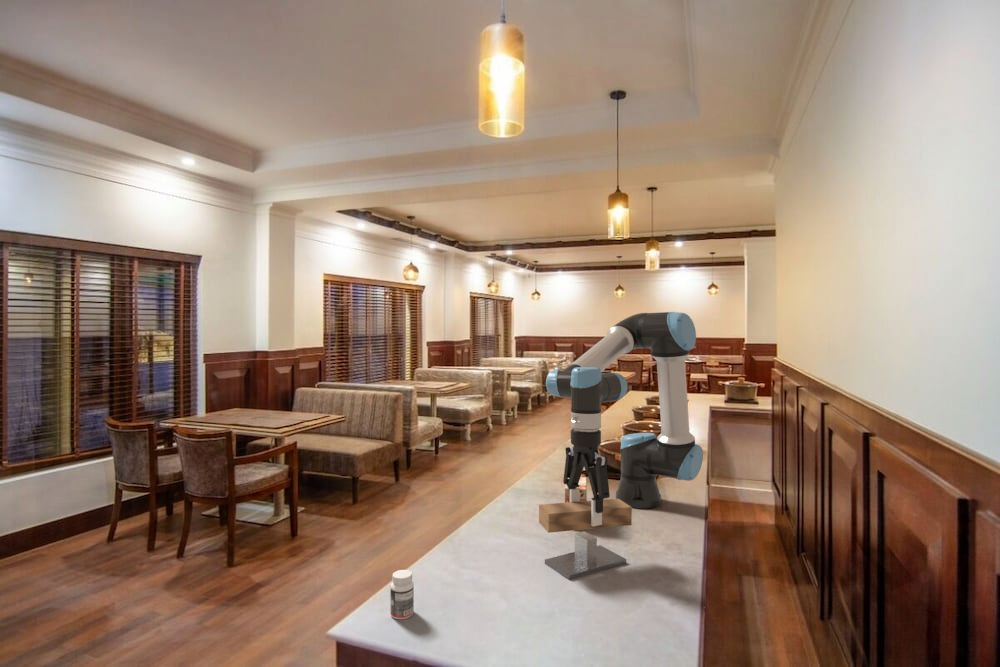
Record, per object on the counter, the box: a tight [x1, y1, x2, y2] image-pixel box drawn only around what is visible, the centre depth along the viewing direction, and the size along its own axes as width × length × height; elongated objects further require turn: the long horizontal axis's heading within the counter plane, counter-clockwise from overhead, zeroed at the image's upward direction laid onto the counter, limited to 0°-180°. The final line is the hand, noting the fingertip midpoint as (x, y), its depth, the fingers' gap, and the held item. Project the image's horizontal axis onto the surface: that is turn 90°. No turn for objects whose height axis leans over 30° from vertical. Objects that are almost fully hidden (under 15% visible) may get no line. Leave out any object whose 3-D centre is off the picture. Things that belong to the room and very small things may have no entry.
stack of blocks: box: [564, 476, 588, 531], centre depth 166 cm, size 21×6×12 cm, turn 170°
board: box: [538, 498, 633, 533], centre depth 133 cm, size 22×7×4 cm, turn 105°
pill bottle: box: [389, 569, 415, 620], centre depth 109 cm, size 5×5×8 cm
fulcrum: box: [544, 530, 627, 581], centre depth 133 cm, size 18×10×7 cm, turn 119°
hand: (585, 519), depth 133 cm, fingers closed on board, 8 cm apart
